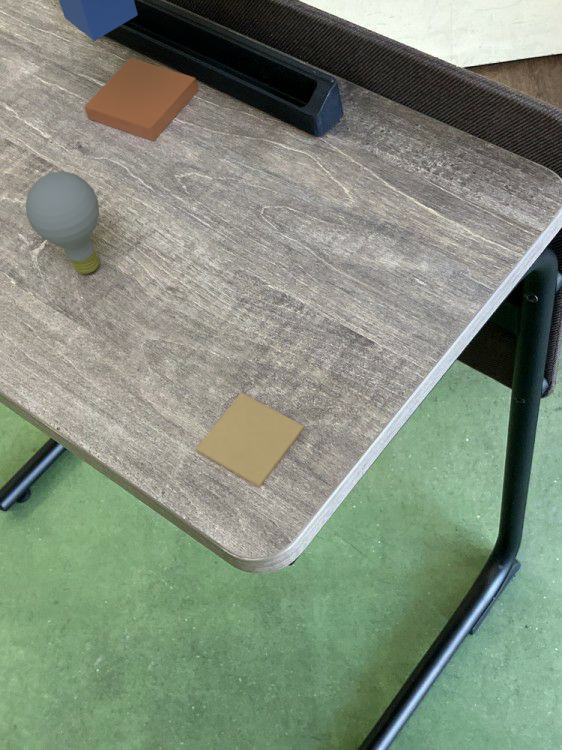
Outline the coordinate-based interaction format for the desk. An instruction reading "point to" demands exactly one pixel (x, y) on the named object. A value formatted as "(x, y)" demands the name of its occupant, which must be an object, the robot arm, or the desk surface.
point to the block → (98, 15)
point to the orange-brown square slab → (141, 99)
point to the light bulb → (66, 216)
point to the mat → (250, 439)
